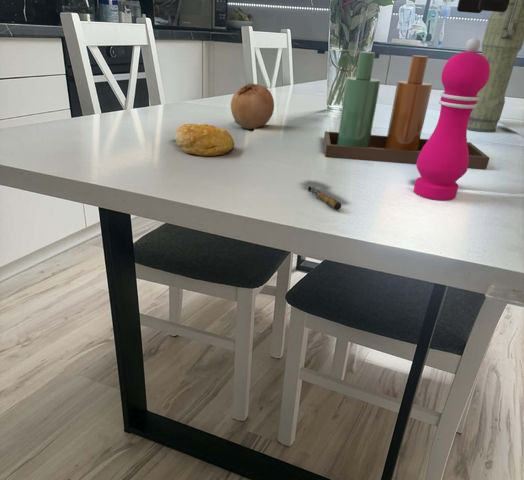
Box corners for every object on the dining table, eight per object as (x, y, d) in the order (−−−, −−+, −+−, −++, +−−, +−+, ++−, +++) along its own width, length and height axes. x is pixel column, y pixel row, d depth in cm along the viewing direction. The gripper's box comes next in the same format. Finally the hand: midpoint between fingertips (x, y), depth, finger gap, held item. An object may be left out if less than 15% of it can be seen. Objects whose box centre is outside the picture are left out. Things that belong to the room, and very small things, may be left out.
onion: (247, 146, 106) (240, 103, 97) (227, 125, 110) (218, 82, 102) (284, 127, 107) (279, 84, 99) (263, 108, 112) (257, 64, 103)
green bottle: (366, 148, 93) (382, 52, 84) (369, 156, 89) (387, 54, 79) (335, 146, 94) (348, 50, 85) (337, 153, 89) (351, 52, 80)
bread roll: (245, 154, 87) (246, 126, 84) (188, 159, 82) (187, 129, 79) (220, 142, 93) (220, 115, 91) (166, 146, 88) (165, 118, 86)
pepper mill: (462, 204, 70) (511, 40, 58) (411, 198, 71) (450, 36, 59) (454, 189, 76) (497, 38, 64) (408, 184, 76) (442, 34, 65)
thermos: (488, 125, 128) (539, -45, 107) (502, 134, 118) (561, -50, 98) (454, 122, 128) (499, -47, 108) (465, 131, 118) (516, -53, 98)
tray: (466, 156, 96) (470, 142, 94) (485, 173, 85) (489, 157, 84) (323, 145, 97) (324, 131, 95) (324, 160, 86) (326, 145, 85)
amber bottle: (413, 152, 93) (434, 56, 84) (418, 160, 88) (442, 58, 79) (382, 150, 93) (400, 53, 84) (385, 157, 88) (405, 56, 79)
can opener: (341, 210, 64) (342, 202, 63) (325, 211, 63) (326, 202, 63) (317, 190, 71) (318, 182, 70) (302, 190, 70) (303, 182, 70)
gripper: (611, -220, 43) (536, 13, 53) (536, -160, 57) (488, 15, 67) (527, -225, 43) (467, 7, 53) (473, -165, 57) (434, 10, 67)
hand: (479, 11), depth 60 cm, fingers open, 9 cm apart
